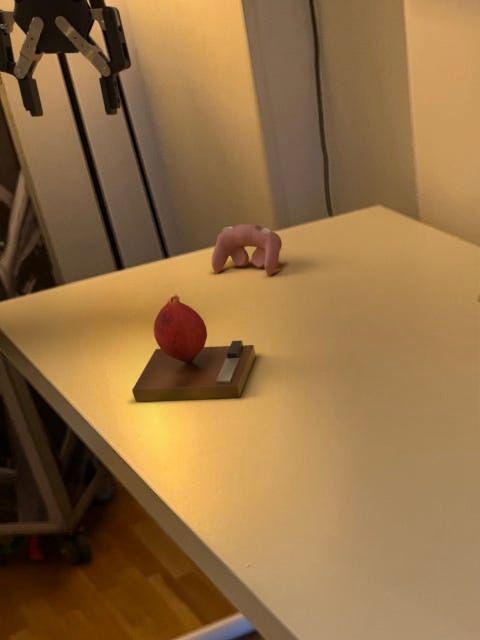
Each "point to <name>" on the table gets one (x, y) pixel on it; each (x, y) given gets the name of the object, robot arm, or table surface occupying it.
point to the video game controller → (241, 237)
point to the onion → (180, 330)
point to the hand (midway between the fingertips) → (74, 115)
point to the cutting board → (196, 374)
